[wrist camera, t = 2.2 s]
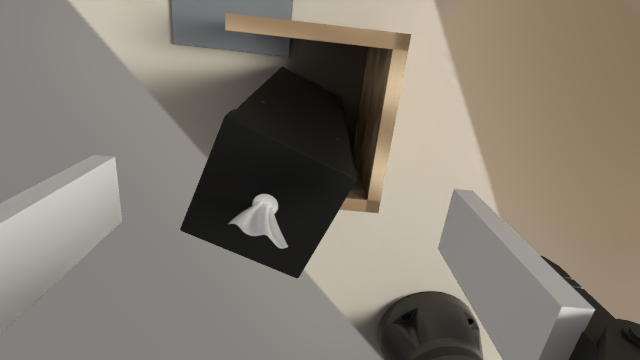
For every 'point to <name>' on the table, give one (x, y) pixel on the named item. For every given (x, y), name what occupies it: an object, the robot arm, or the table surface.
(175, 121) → the table surface
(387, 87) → the holder
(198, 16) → the pad
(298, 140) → the black tall block
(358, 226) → the table surface
